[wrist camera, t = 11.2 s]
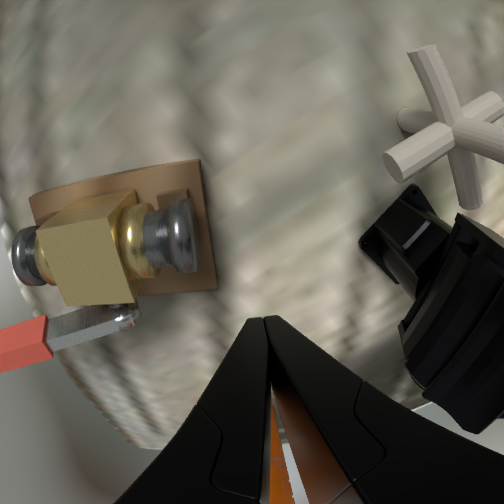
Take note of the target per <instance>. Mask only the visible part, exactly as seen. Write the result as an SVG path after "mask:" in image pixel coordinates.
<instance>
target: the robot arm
mask: <svg viewBox="0 0 504 504" xmlns="http://www.w3.org/2000/svg"><path fill="white" fill-rule="evenodd" d="M414 189H415V192H414V193H413V190H414ZM365 241H367V243H365V244H364V242H365ZM359 245H360V247H361V248H362V249H363V250H364V251H365V252H366V253H367V254H368V255H369V256H370V257H371V258H372V259H373V260H374V261H375V262H376V263H377V264H378V265H379V266H380V268H381V269H382V270H383V271H384V272H385V273H386V274H387V275H388V276H389V277H390V278H391V279H392V280H393V281H394V283H395V284H401V285H402V287H403V288H404V289H405V290H406V292H407V293H408V294H409V295H410V297H411V298H412V299H413V300H414V304H413V305H412V307H411V309H410V310H409V312H408V313H407V315H406V317H405V318H404V320H401V322H400V324H399V325H398V329H399V333H400V338H401V342H402V346H403V351H404V355H405V360H406V361H405V367H406V369H407V370H408V372H409V374H410V376H411V378H412V379H413V380H414V382H415V383H416V384H417V385H418V386H419V387H420V388H421V389H423V390H424V391H423V392H422V396H423V397H424V398H425V399H428V400H430V401H432V402H434V403H436V404H437V405H439V406H440V407H441V408H443V409H444V410H446V411H447V412H448V413H449V414H450V415H451V416H452V417H453V419H454V420H455V421H456V422H457V423H458V424H459V426H461V428H462V429H463V430H465V431H468V432H471V433H474V434H480V433H481V432H482V431H483V430H485V429H486V428H487V427H488V426H489V425H490V424H491V423H493V422H494V421H495V420H496V419H504V238H503V237H501V236H500V235H498V234H497V233H495V232H494V231H492V230H491V229H489V228H487V227H485V226H483V225H482V224H480V223H478V222H476V221H474V220H472V219H470V218H468V217H466V216H464V215H462V214H460V213H457V215H456V218H455V224H454V226H453V227H451V226H450V225H448V224H447V223H446V222H444V221H443V220H441V219H440V218H439V217H437V215H436V213H435V212H434V210H433V209H432V207H431V205H430V204H429V202H428V200H427V199H426V197H425V196H424V194H423V193H422V191H421V190H420V188H419V187H418V186H416V185H414V184H411V185H410V186H409V187H408V188H407V189H406V190H405V191H404V192H403V193H402V194H401V196H400V197H399V198H398V199H397V200H396V201H395V202H394V203H393V204H392V205H391V206H390V207H389V208H388V209H387V210H386V211H385V212H384V213H383V214H382V215H381V216H380V218H379V219H378V220H377V221H376V222H375V223H374V224H373V225H372V226H371V227H370V228H369V229H368V230H367V231H366V232H365V233H364V234H363V235H362V236H361V238H360V239H359ZM271 386H272V390H273V394H274V397H275V401H276V404H277V407H278V410H279V413H280V416H281V419H282V423H283V426H284V429H285V432H286V435H287V438H288V441H289V444H290V447H291V450H292V453H293V456H294V459H295V462H296V465H297V468H298V471H299V474H300V477H301V480H302V483H303V486H304V489H305V492H306V495H307V498H308V501H309V503H310V504H504V455H502V454H499V453H497V452H495V451H493V450H490V449H488V448H486V447H484V446H482V445H479V444H477V443H475V442H473V441H471V440H468V439H466V438H464V437H462V436H460V435H458V434H456V433H454V432H452V431H449V430H448V429H446V428H444V427H442V426H440V425H438V424H436V423H434V422H432V421H430V420H428V419H426V418H424V417H422V416H420V415H418V414H416V413H415V412H413V411H411V410H409V409H408V408H406V407H404V406H402V405H401V404H399V403H397V402H395V401H394V400H392V399H391V398H389V397H388V396H386V395H385V394H383V393H382V392H380V391H379V390H377V389H376V388H375V387H373V386H372V385H370V384H369V383H368V382H366V381H363V382H362V379H361V378H360V377H359V376H357V375H356V374H355V373H353V372H352V371H350V370H349V369H348V368H346V367H345V366H344V365H342V364H341V363H340V362H338V361H337V360H336V359H334V358H333V357H332V356H330V355H329V354H328V353H326V352H325V351H324V350H322V349H321V348H320V347H319V346H317V345H316V344H315V343H313V342H312V341H311V340H309V339H308V338H307V337H306V336H304V335H303V334H302V333H300V332H299V331H298V330H296V329H295V328H294V327H293V326H291V325H290V324H289V323H288V322H286V321H285V320H284V319H282V318H281V317H280V316H278V315H273V316H265V317H264V318H262V317H256V318H248V319H247V320H246V322H245V324H244V326H243V327H242V329H241V331H240V332H239V334H238V336H237V337H236V339H235V341H234V342H233V344H232V346H231V348H230V349H229V351H228V353H227V354H226V356H225V358H224V359H223V361H222V363H221V364H220V366H219V367H218V369H217V371H216V372H215V374H214V376H213V377H212V379H211V381H210V382H209V384H208V386H207V387H206V389H205V390H204V392H203V394H202V395H201V397H200V398H199V400H198V402H197V405H195V406H194V407H193V409H192V410H191V412H190V414H189V415H188V417H187V418H186V420H185V421H184V423H183V424H182V426H181V427H180V428H179V430H178V431H177V433H176V434H175V436H174V437H173V438H172V439H171V440H170V442H169V443H168V444H167V445H166V447H165V448H164V449H163V450H162V451H161V453H160V454H159V455H158V456H157V457H156V458H155V459H154V461H153V462H152V463H151V464H150V465H149V466H148V467H147V468H146V469H145V470H144V472H143V473H142V474H141V475H140V476H139V477H138V478H137V479H136V480H135V481H134V482H133V484H132V485H131V486H130V487H129V488H128V489H127V490H126V491H125V492H124V493H123V494H122V495H121V496H120V497H119V498H118V499H117V500H116V501H115V502H114V503H113V504H269V502H270V461H271Z"/></svg>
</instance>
